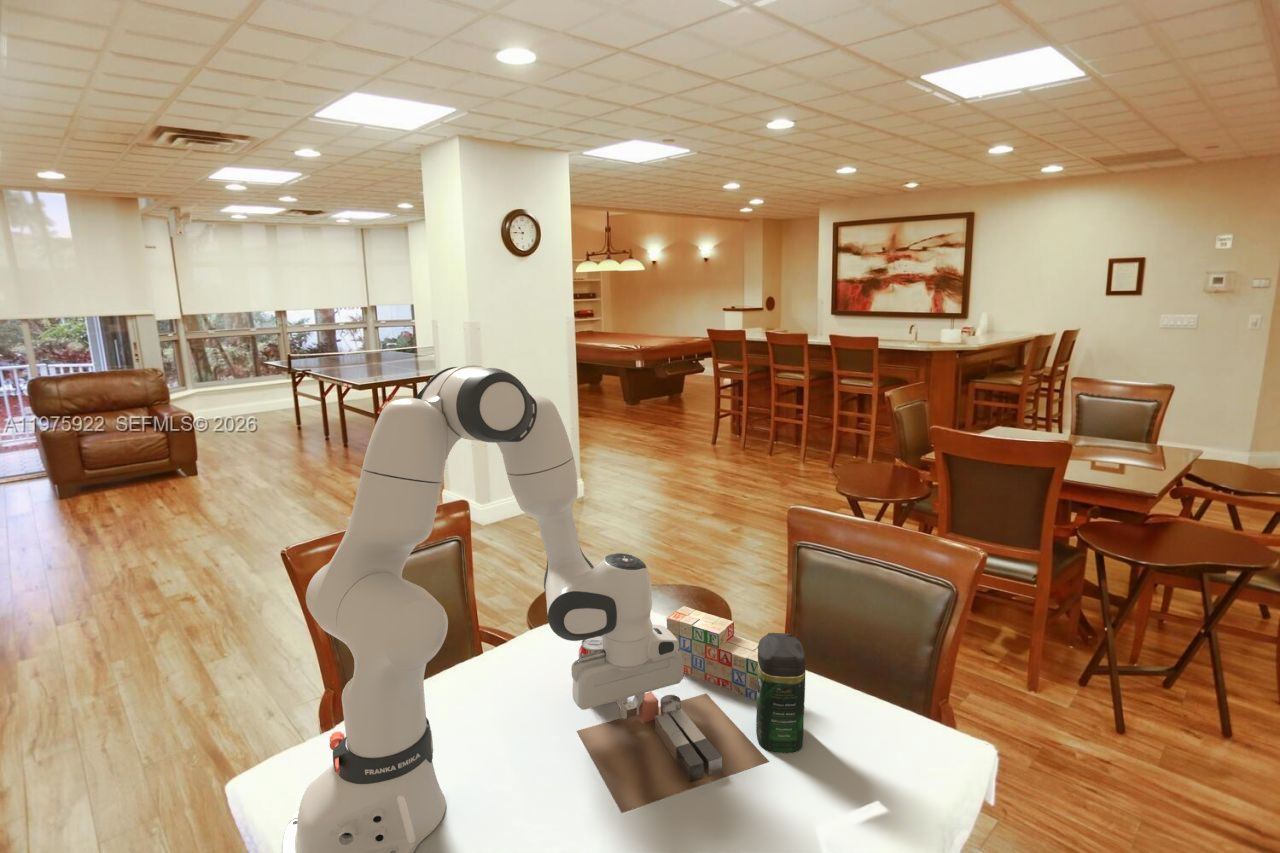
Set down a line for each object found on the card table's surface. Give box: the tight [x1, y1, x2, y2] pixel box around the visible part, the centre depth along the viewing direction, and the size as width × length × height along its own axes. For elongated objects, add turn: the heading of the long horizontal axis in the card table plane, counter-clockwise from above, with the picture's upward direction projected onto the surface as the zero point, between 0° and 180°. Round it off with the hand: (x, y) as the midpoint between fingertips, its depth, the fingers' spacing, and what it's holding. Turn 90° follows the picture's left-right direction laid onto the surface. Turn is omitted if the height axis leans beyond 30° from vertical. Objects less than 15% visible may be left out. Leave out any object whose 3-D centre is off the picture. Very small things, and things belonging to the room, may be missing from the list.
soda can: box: [578, 635, 603, 662], centre depth 130 cm, size 7×7×12 cm
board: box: [576, 693, 770, 814], centre depth 116 cm, size 26×21×1 cm
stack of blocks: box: [666, 605, 759, 701], centre depth 135 cm, size 21×6×12 cm, turn 52°
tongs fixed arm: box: [670, 709, 722, 777], centre depth 114 cm, size 2×14×3 cm, turn 24°
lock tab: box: [638, 691, 660, 723], centre depth 123 cm, size 3×3×4 cm
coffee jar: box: [755, 632, 806, 754], centre depth 116 cm, size 10×8×19 cm
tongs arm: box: [655, 694, 704, 783], centre depth 116 cm, size 6×18×4 cm, turn 22°
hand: (630, 715), depth 122 cm, fingers closed
